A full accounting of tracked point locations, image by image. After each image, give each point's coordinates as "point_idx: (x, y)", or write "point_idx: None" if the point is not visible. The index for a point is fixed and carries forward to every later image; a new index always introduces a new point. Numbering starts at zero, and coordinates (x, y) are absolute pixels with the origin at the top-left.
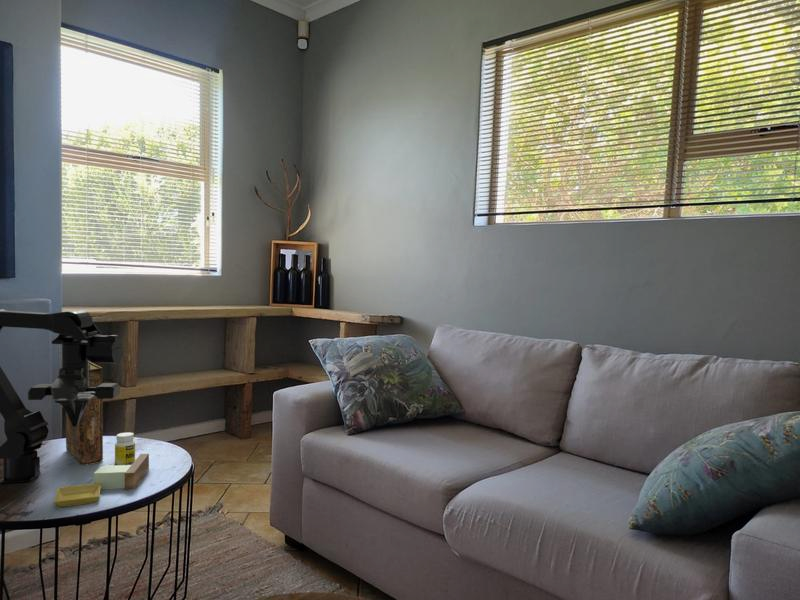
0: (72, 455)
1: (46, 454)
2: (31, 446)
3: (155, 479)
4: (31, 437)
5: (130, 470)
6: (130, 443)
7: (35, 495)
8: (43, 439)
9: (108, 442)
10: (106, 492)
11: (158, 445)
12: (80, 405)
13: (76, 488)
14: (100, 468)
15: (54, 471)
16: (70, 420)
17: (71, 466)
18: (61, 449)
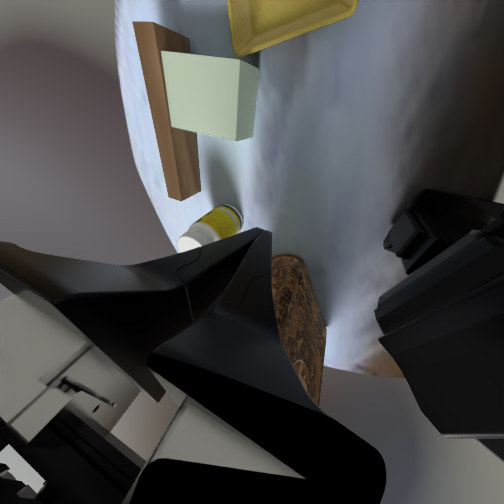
0: (316, 302)
1: (358, 330)
2: (460, 238)
3: None
4: (496, 246)
5: (150, 54)
6: (189, 227)
7: (433, 36)
8: (393, 286)
9: None
10: (224, 24)
11: None
12: (127, 271)
13: (297, 27)
14: (232, 115)
15: (351, 244)
16: (270, 248)
17: (318, 257)
18: (333, 336)
